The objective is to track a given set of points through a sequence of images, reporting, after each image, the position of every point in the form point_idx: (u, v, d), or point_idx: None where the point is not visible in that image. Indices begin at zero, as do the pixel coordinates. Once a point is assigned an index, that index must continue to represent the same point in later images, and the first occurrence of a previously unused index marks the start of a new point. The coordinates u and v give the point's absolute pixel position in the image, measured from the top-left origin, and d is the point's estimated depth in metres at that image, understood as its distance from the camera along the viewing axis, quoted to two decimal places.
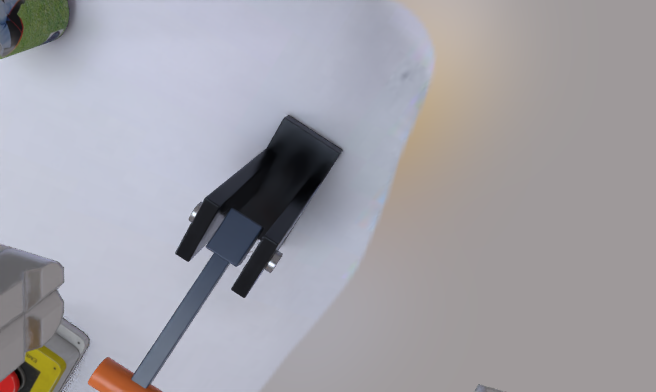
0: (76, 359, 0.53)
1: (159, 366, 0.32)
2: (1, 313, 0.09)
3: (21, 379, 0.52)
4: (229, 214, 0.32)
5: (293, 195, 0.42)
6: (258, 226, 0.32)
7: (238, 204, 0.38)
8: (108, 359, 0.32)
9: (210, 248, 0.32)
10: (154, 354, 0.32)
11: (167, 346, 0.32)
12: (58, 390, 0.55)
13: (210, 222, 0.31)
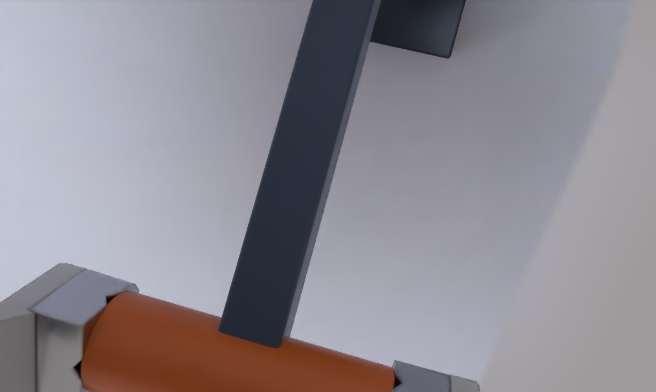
0: None
1: (298, 262, 0.09)
2: (87, 339, 0.09)
3: None
4: None
5: None
6: None
7: None
8: (131, 294, 0.10)
9: None
10: (269, 228, 0.09)
11: (303, 187, 0.09)
12: None
13: None
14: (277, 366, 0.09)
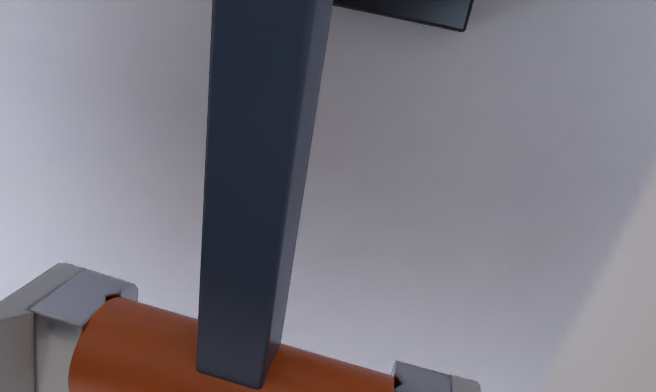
0: None
1: (266, 319, 0.07)
2: None
3: None
4: None
5: None
6: None
7: None
8: (102, 317, 0.09)
9: None
10: (224, 283, 0.07)
11: (256, 240, 0.07)
12: None
13: None
14: None
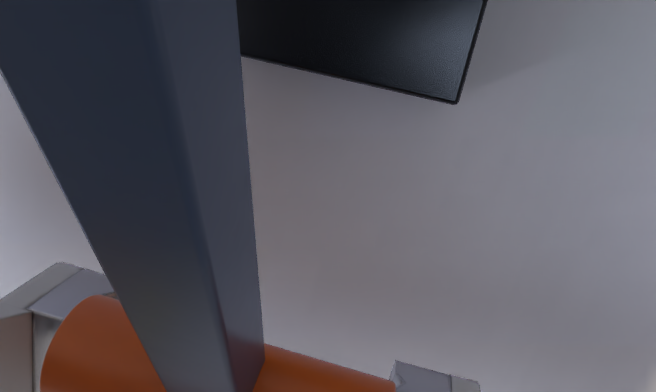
0: None
1: (227, 385, 0.06)
2: None
3: None
4: None
5: None
6: None
7: None
8: (65, 336, 0.08)
9: None
10: (170, 355, 0.06)
11: (193, 332, 0.05)
12: None
13: None
14: None
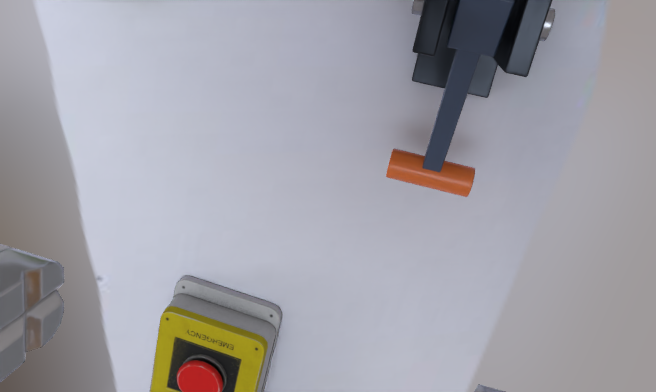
0: (274, 336, 0.44)
1: (444, 155, 0.31)
2: (1, 313, 0.09)
3: (222, 376, 0.44)
4: (462, 0, 0.23)
5: None
6: (508, 2, 0.22)
7: None
8: (394, 155, 0.32)
9: (453, 46, 0.24)
10: (435, 147, 0.30)
11: (445, 138, 0.30)
12: (262, 383, 0.46)
13: None
14: (440, 177, 0.32)
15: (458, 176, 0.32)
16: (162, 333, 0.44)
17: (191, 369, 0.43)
